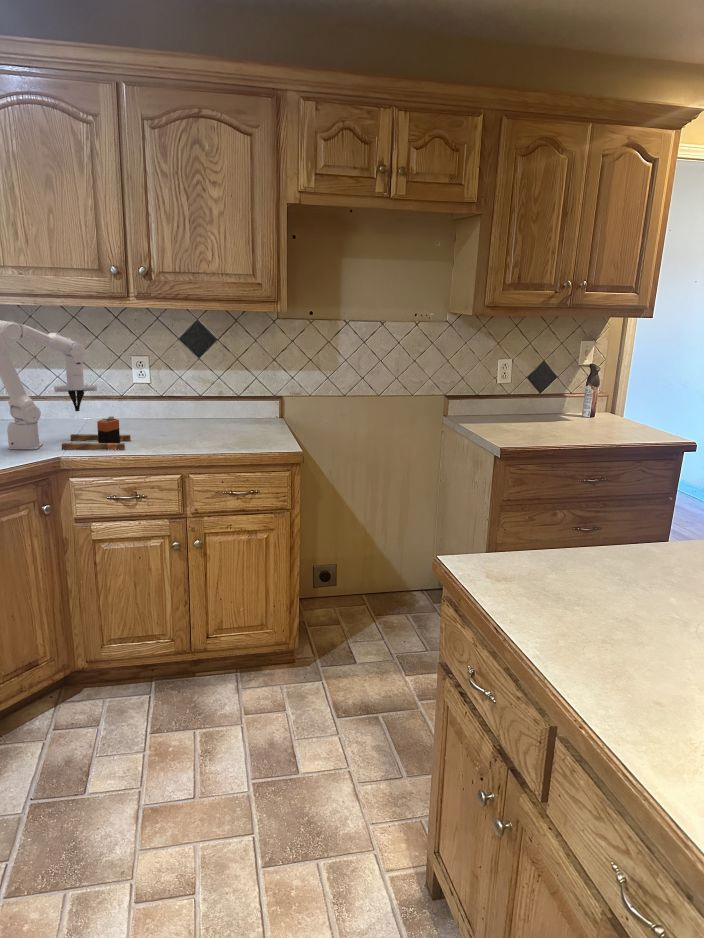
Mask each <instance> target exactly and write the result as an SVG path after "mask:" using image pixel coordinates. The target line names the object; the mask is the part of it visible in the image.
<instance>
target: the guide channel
mask: <svg viewBox="0 0 704 938" xmlns="http://www.w3.org/2000/svg"><path fill="white" fill-rule="evenodd" d="M69 437H70V442H62V443H61V450H63V449H64V450H65V451H88V450H89V449H92V450H91V451H94V450H93V449H106V450H105V451H111V450H110V449H113V450H112V451H125V449H126V447H125V445H126V444H125V443H123V442H131V434H120V443H98V442H87V441H86V440H98V434H94V433H93V434H91V433H90V434H87V433H86V434H83V433H81V434H79V433H77V434H75V433H74V434H70V436H69ZM75 440H80V441H79V442H76V441H75ZM74 449H76V450H74ZM108 449H109V450H108ZM115 449H116V450H115ZM118 449H119V450H118ZM64 450H63V451H64ZM89 451H90V450H89Z"/></svg>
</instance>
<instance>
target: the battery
mask: <svg viewBox="0 0 704 938" xmlns="http://www.w3.org/2000/svg"><path fill="white" fill-rule="evenodd" d="M96 423H97V435H98V441H97V443H121V441H120V435H121V434H120V432H121V431H120V420H119V419H118V418H115V416H113V415H111V416H108V417H107V418H106V417H105V418H104V417H103V418H101V419H100V420H98V421H96Z"/></svg>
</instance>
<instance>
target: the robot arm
mask: <svg viewBox="0 0 704 938" xmlns="http://www.w3.org/2000/svg"><path fill="white" fill-rule="evenodd" d="M20 338H21V339H24V338H28V339H32V340H34V341H38V342H41V343H43V344H44V345H45V346H44V347H46V348H47V349H49V350H52V351H54V352H56V353H60V354H62V355H63V356H64V357H65V359H64V360H65V373H66V385H55V386H54V388H53V389H54V393H63V392H64V393H65V392H66V393H68V397H70V399H71V401H72V404H73V406H74V410H75V412H80V407H81V403H82V399H83V398H84V395H85V392H98V386H97V384H96V385H95V384H94V385H91V384H90V385H89V384H85V380H84V379H85V378H84V366H83V361H84V360H83V359H84V355H86V354H85V353H86V349H85V347H84V345H83V344H82V343H81V342H79V341H73V340H72V338H70V337H65V336H62V335H61V333H59V332H50V333H48V334H47V333H46V332H42V331H40V330H38V329H35V328H33V327H31V326H28V325H26V324H22V323H17V322H15V321H6V320H3V319H0V380H1V382H2V384H3V387H4V388H5V390H6V392H7V395H8V397H9V400H8V405H9V414H10V415H11V417H12V418H13V419H14V420H13V421H12V422H8V424H7V430H6V431H7V439H8V440H7V441H8V450H38V449H40V447H42V446H43V444H44V442H40V437H39V436H40V435H39V424H38V423H39V420H40V419H41V416H42V415H41V413H42V412H41V410H40V408H39V407H38V406H37V405H36V404H35V403H34V401H33V399H32V398H31V397H30V396H29V395H28V394H27V392H26V390H25V387H24V385H23V383H22V381H21V377H20V376H19V374H18V372H17V370H16V367H15V364H14V363H13V361H12V358H11V357H10V354H9V351H10V350H11V347H13V346H14V345H15V343H16V342H18V340H20Z"/></svg>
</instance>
